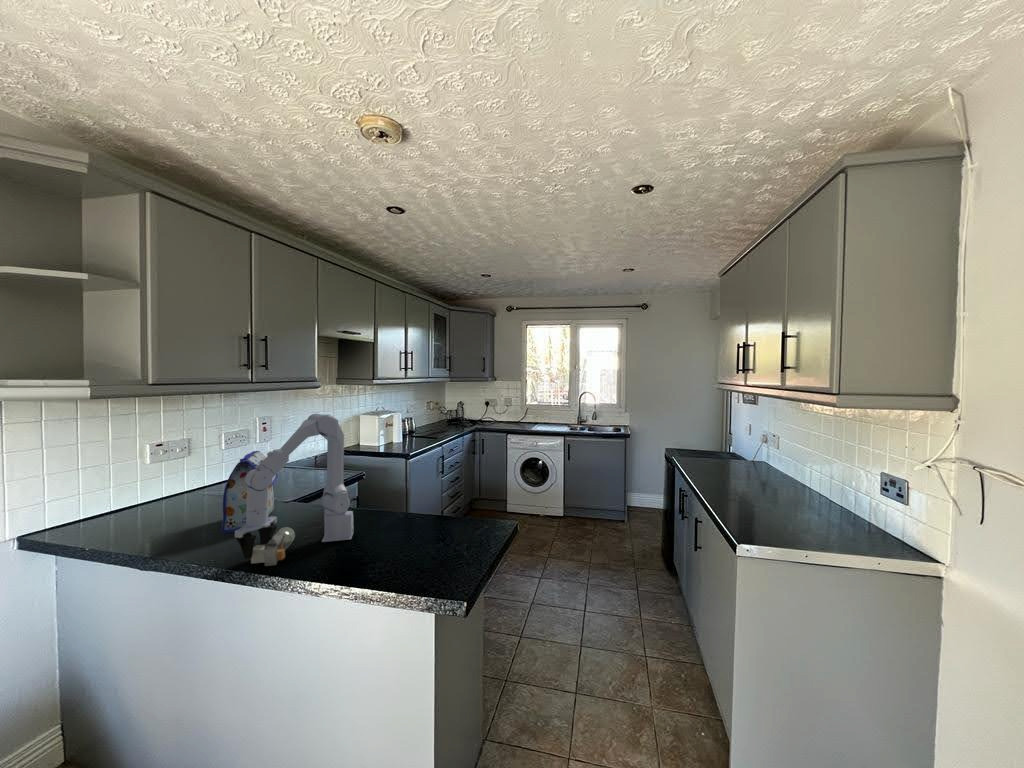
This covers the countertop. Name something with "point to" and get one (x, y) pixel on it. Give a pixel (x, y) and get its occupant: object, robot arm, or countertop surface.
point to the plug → (259, 554)
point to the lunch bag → (241, 493)
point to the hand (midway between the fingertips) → (256, 553)
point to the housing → (278, 545)
